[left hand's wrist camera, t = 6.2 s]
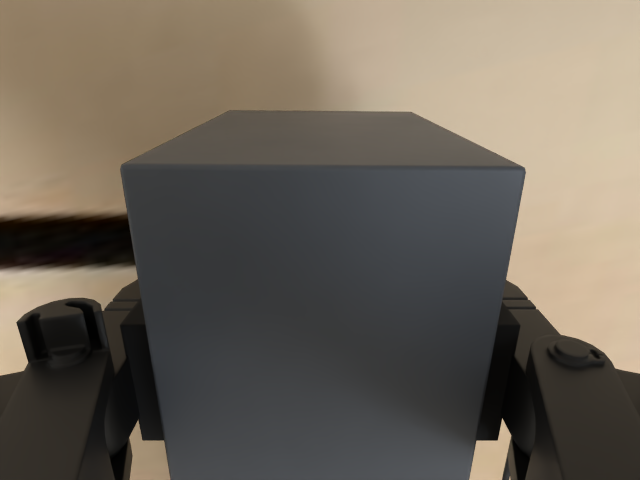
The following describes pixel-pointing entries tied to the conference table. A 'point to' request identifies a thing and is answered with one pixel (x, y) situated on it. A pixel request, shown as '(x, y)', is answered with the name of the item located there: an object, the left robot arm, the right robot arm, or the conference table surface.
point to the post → (321, 293)
